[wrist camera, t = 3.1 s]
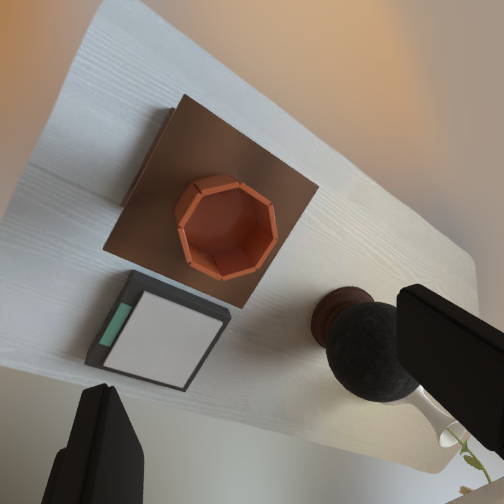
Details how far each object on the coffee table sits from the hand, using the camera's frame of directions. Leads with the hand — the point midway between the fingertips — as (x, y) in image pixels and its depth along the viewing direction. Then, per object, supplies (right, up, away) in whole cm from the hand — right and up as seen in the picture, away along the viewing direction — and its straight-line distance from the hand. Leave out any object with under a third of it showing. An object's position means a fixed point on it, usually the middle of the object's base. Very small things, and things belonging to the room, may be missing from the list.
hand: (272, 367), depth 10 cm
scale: (-13, -7, +34) cm, 37 cm away
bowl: (-3, +6, +14) cm, 16 cm away
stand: (-8, +12, +29) cm, 32 cm away
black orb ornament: (+14, -7, +42) cm, 45 cm away
